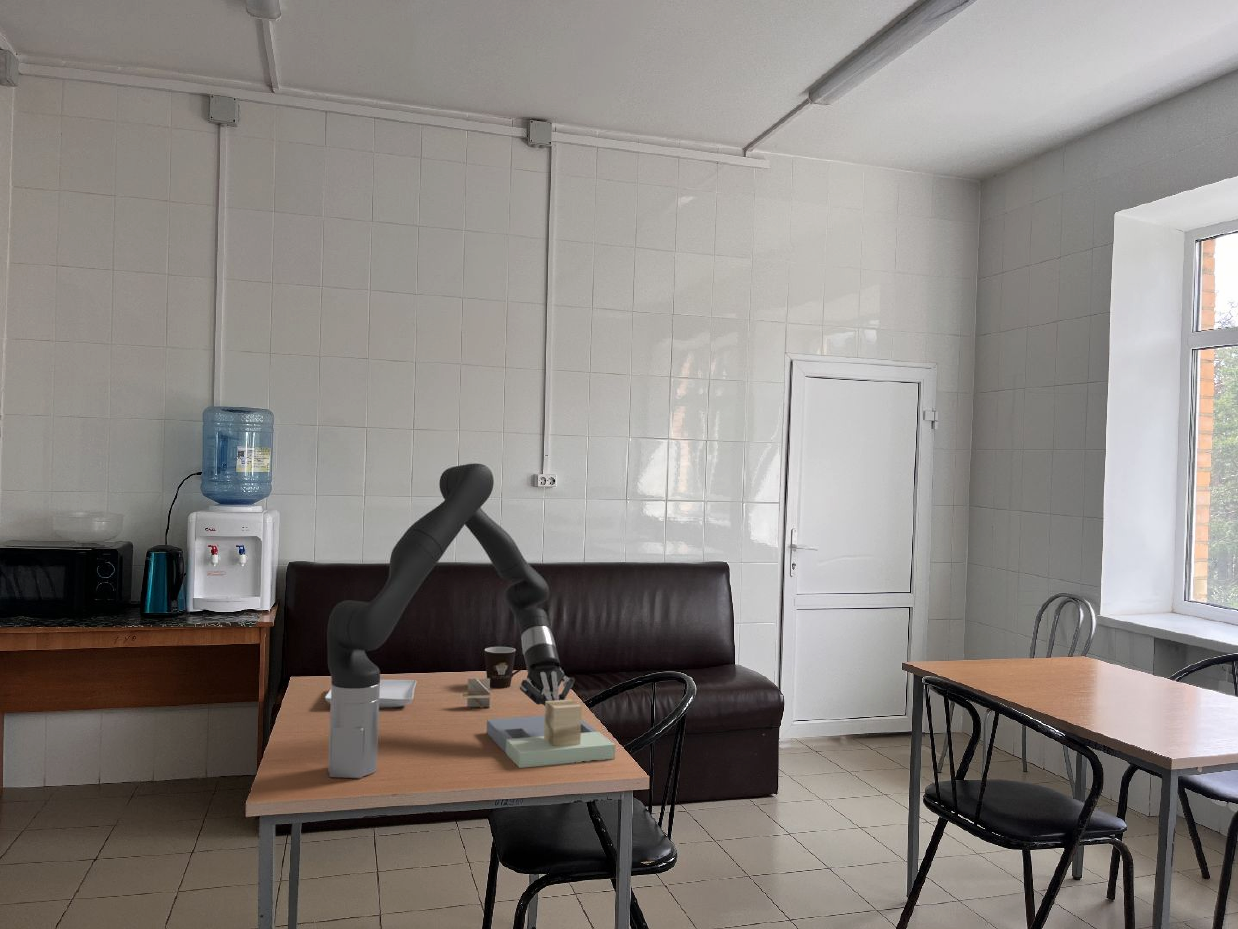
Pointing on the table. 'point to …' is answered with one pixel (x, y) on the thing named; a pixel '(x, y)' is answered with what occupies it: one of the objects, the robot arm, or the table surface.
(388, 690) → the salad plate
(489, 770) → the table surface
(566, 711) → the birch block
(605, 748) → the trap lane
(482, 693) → the architectural model
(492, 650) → the coffee mug
